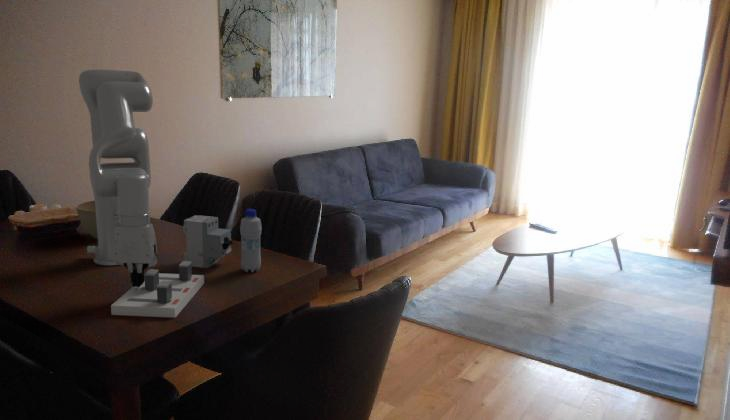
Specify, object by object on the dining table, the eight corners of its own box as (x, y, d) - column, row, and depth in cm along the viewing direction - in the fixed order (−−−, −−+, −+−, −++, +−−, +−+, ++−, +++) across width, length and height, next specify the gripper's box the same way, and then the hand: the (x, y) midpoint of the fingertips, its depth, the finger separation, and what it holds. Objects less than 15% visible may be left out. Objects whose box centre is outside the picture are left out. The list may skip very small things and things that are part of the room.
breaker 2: (179, 280, 151) (178, 265, 150) (183, 275, 154) (183, 260, 153) (187, 280, 151) (187, 265, 150) (191, 276, 154) (191, 261, 153)
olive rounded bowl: (68, 237, 195) (65, 205, 192) (113, 227, 210) (111, 197, 207) (97, 246, 186) (95, 213, 183) (143, 236, 201) (141, 204, 198)
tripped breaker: (145, 289, 143) (144, 273, 142) (150, 284, 146) (149, 269, 145) (154, 290, 143) (153, 274, 142) (159, 285, 146) (158, 269, 145)
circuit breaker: (225, 270, 169) (225, 224, 165) (184, 265, 171) (183, 220, 168) (236, 263, 176) (235, 219, 172) (196, 258, 178) (195, 215, 175)
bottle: (238, 267, 171) (237, 207, 167) (259, 265, 174) (259, 206, 169) (242, 274, 165) (241, 212, 161) (263, 272, 168) (264, 211, 163)
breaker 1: (157, 302, 135) (156, 285, 134) (162, 296, 138) (162, 280, 137) (166, 302, 135) (166, 286, 134) (172, 297, 138) (171, 281, 137)
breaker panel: (111, 314, 133) (110, 305, 133) (149, 280, 157) (149, 272, 156) (175, 317, 134) (174, 308, 133) (204, 283, 157) (203, 275, 156)
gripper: (99, 221, 137) (103, 289, 141) (157, 224, 137) (160, 291, 141) (113, 215, 144) (117, 279, 148) (168, 217, 144) (170, 281, 148)
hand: (138, 285), depth 144 cm, fingers closed
